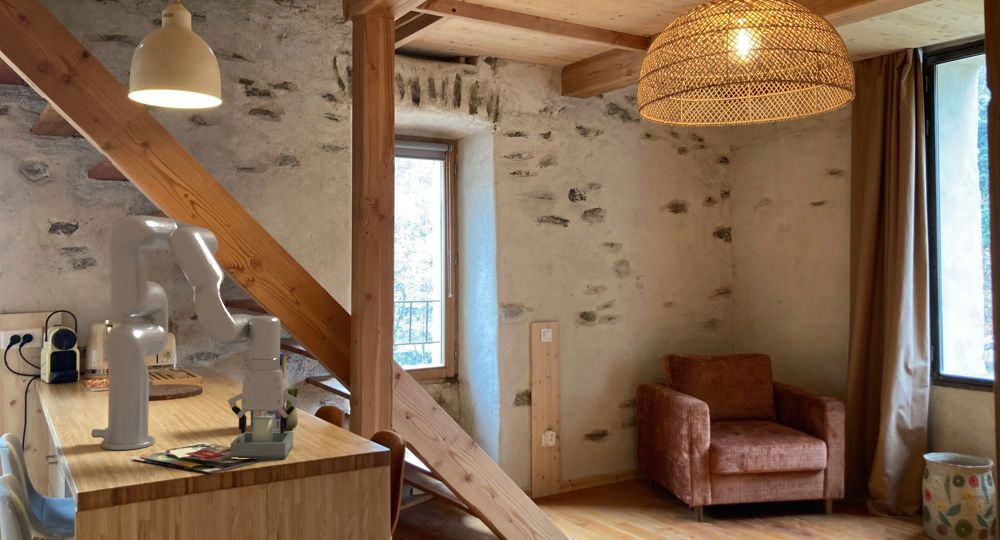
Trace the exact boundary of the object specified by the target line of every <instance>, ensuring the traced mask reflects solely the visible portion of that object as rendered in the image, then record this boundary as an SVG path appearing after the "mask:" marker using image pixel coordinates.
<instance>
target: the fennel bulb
mask: <svg viewBox="0 0 1000 540" xmlns="http://www.w3.org/2000/svg"><path fill="white" fill-rule="evenodd" d="M298 392H299V387H291V388H288V392H287V393H288V394H290V395H292V396H294V397H295V398H297V399H298ZM285 404H286V405H285V408H286V409H288V408H289V407H290V406H291V404H292V402H291V401H289V400H287V399H286V403H285ZM298 419H299V416H298V413H297V406H296V407H295V409H294V410H293V411H292V412H291V413H290V414H289V415H288V420H287V429H286V430H292V429H295V428H296V427H297V425H298V423H299V420H298Z"/></svg>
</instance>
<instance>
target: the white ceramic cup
mask: <svg viewBox="0 0 1000 540" xmlns="http://www.w3.org/2000/svg"><path fill="white" fill-rule="evenodd" d="M251 432H252V443H273V417H272V416H257V417H253V427H252V431H251Z"/></svg>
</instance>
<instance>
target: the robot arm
mask: <svg viewBox="0 0 1000 540" xmlns="http://www.w3.org/2000/svg"><path fill="white" fill-rule="evenodd" d="M108 246H109V247H108V248H109V249H108V251H109V259H110V306H111V309H112V313H114V314H115V316H118V317H120V318H124V319H134V322H130V323H123V324H120V325H116V326H115V327H114V328H112V329H111V330H110V331H109V332H108V333H107V336H106V337H105V342H104V343H105V344H104V350H105V353H106V354H105V355H106V358H107V359H106V360H107V361H106V362H107V366H108V368H107V371H108V402H107V403H108V406H107V407H108V408H107V409H108V410H107V411H108V412H107V416H108V417H107V427H106V428H104V429H99V428H93V429H91V437H92V438H93V439H95V438H96V439H97V438H99V439H100V438H101V439H103V440H102V441H101V442H100V443H101V444H100V447H101V448H103V449H104V450H105V449H106V450H112V451H113V450H114V451H124V450H126V451H128V450H135V449H142V448H146V447H150V446H152V445H154V443H155V437H153V436H152V435H149V405H150V401H149V399H150V392H149V391H150V376H149V368H148V366H147V363H146V359H145V358H149V357H154V356H157V355H158V354H160V353H162V352H163V351H164V350H165V348H166V347H167V344H168V339H169V301H168V296H167V293H166V291H165V289H164V288H163V287H162V286H161V285H160V284H158V283H157V282H154V281H148V276H147V272H148V266H147V262H146V259H145V256H144V254H143V250H144V249H151V250H152V249H153V250H166V251H170V252H171V254H172V255H173V257H174V259H175V260H176V262H177V264H178V266H179V268H180V269H181V271H182V273H183V274H184V276H185V278H186V280H187V281H188V282H189V285H190V286H191V288H192V290H193V304H194V309H195V313H196V317H197V318H198V321H199V322H200V324H201V325H202V327H203V329H204V331H205V333H206V334H207V335H208V337H209V338H210V339H211V340H212V341H213V343H215V344H216V345H219V346H221V347H229V346H235V345H238V344H239V345H240V344H246V343H248V344H249V345H248V346H249V347H248V359H244V360H242V366H243V367H244V366H245V367H247V370H245V371H244V375H243V380H242V381H243V383H242V391H241V393H239V394H237V395H234V396H233V397H231V398H229V399H228V400H227V403H228V405H229V406H230V408H231V411H232V412H233V413H234V414H235V415H236V416H237V418H238V429H239V430H240V434H243V433H245V432H247V418H248V417H247V415H246V413H247V412H251V411H279V413H280V414H281V415H282V417H281V419H280V431H279V432H280V433H284V432H286V430H288V429H287V420H288V415H289V414H290V413H291V412H292V411H293V410H294V409H295V407H296V408H297V406H298V404H299V402H300V399H299V398H298V397H297V398H295V397H294V396H292V395H290V394H288V392H286V391H285V389H286V387H285V388H284V378H283V372H282V370H280V352H281V320H280V318H279V317H277V316H273V315H251V314H246V313H237V314H235V313H234V314H230V313H229V312H228V310H227V308H226V307H225V305H224V303H223V300H222V297H221V294H220V293H221V292H220V288H221V284H222V283H223V281H224V279H225V273H224V271H223V269H222V267H221V266H220V264H219V262H218V261H217V259H216V257H215V255H216V253H217V252H218V249H219V242H218V239H217V237H216V235H215V234H214V233H213V232H212V231H211V230H209V229H207V228H204V227H201V226H197V225H193V224H190V223H186V222H183V221H180V220H176V219H172V218H167V217H162V216H161V217H160V216H152V215H143V214H142V215H132V216H128V217H125V218H124V219H122V220H120V221H119V222H118V223H117V224H116V225H115V226H114V227H113V229H112V230H111V233H110V236H109V241H108ZM287 400H289V401H291V402H292V404H291V406H290V407H289V408H288V409H286V406H285V404H286V401H287ZM238 401H241V405H240V406H241V408H240V407H239V406H238V405H237V403H236V402H238Z"/></svg>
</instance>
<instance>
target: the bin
mask: <svg viewBox="0 0 1000 540" xmlns="http://www.w3.org/2000/svg"><path fill="white" fill-rule="evenodd" d="M293 447H294V431H285V432H284V433H280V431H276V432H273V443H252V431H246V432H245V433H243V434H241V433H240V434H239V435H238V436H236V437H235V439H234V440H232V442H230V458H231V457H238V458H256V459H260V460H259V461H264V460H265V461H267V460H268V461H271V460H272V461H273V460H275V461H276V460H278V461H280V460H286V459H287V457H288V456H289V454H290V452H291V451H292V449H293Z"/></svg>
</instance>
